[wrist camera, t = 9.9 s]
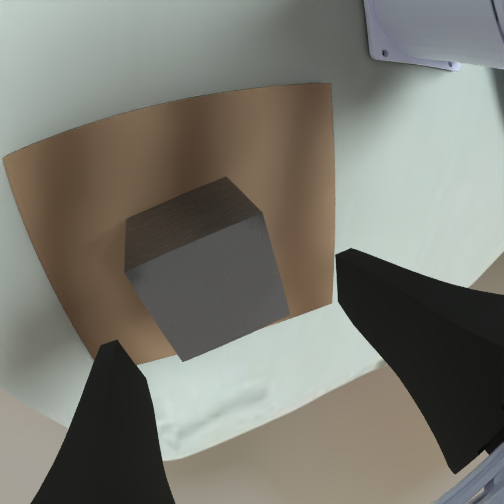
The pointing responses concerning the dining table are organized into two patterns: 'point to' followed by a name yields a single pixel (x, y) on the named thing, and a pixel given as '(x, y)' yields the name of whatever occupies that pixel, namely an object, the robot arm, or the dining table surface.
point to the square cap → (205, 268)
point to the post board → (172, 185)
